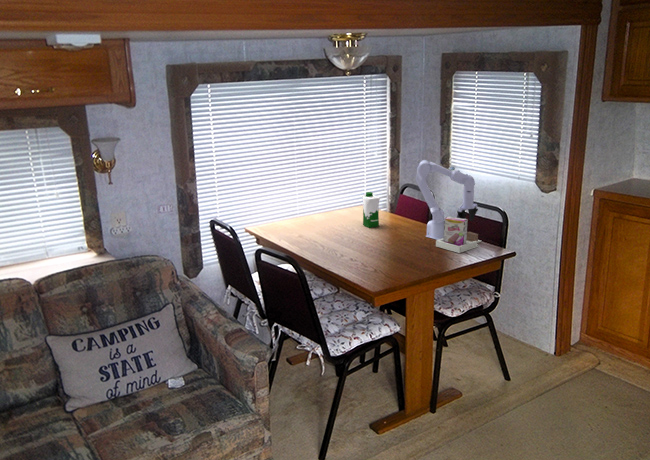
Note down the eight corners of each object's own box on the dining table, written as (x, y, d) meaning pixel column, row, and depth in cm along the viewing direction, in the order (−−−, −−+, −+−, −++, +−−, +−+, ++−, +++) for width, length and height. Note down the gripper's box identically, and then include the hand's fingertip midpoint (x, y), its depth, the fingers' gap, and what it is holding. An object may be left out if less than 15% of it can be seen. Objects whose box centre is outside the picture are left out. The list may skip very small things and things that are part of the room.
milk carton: (373, 223, 366) (373, 191, 361) (381, 226, 359) (381, 194, 353) (360, 225, 362) (360, 192, 357) (368, 228, 355) (369, 195, 349)
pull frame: (435, 246, 320) (436, 237, 319) (464, 237, 335) (465, 228, 334) (459, 253, 309) (459, 244, 308) (487, 243, 324) (488, 234, 323)
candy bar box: (442, 248, 318) (444, 218, 313) (445, 245, 322) (447, 216, 317) (463, 251, 312) (464, 221, 308) (466, 248, 317) (467, 218, 312)
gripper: (465, 201, 320) (464, 226, 323) (482, 197, 329) (481, 221, 332) (455, 199, 325) (454, 223, 329) (471, 195, 334) (470, 218, 338)
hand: (466, 222), depth 331 cm, fingers open, 7 cm apart
